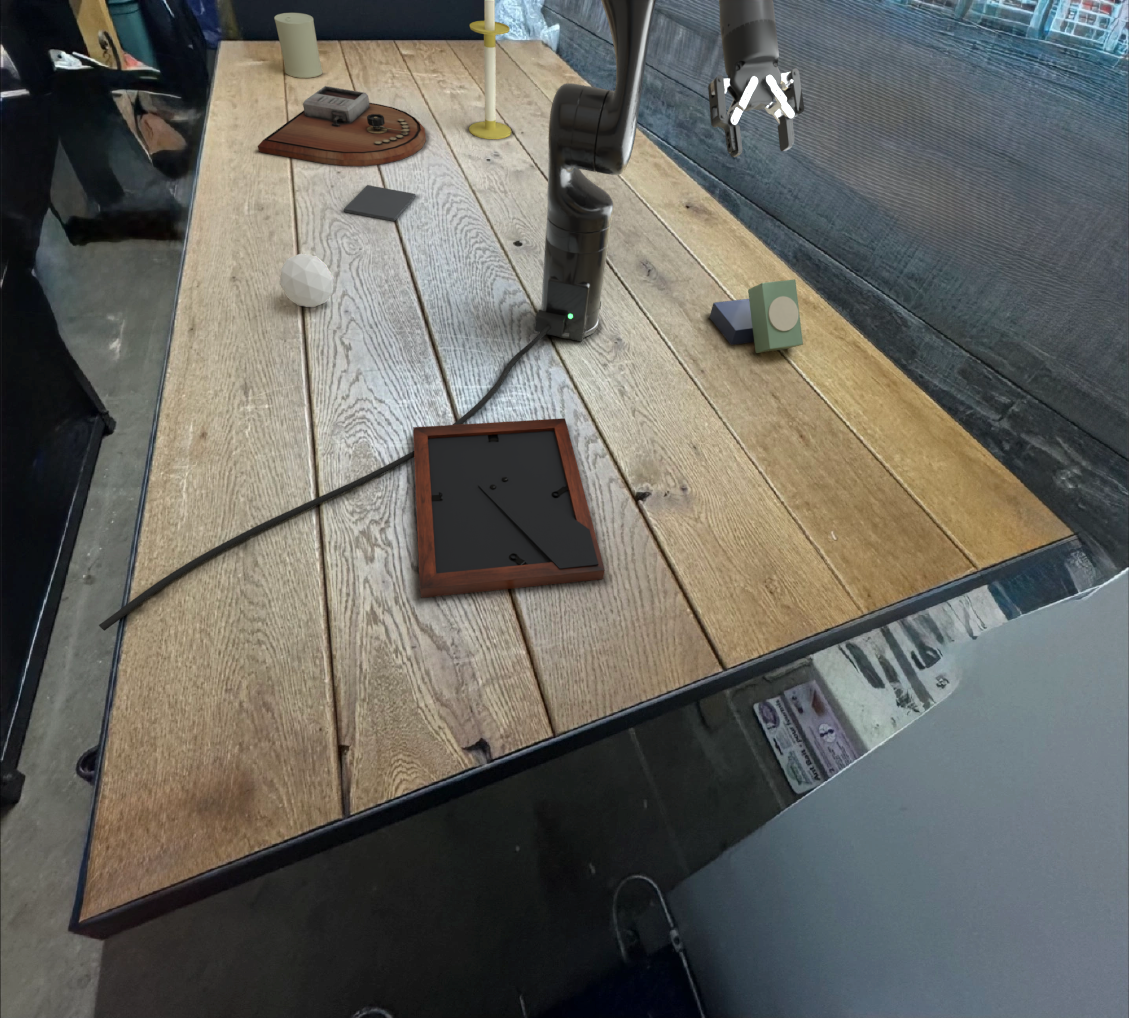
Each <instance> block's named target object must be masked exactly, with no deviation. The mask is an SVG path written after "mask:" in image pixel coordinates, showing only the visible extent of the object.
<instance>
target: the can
mask: <svg viewBox="0 0 1129 1018" xmlns="http://www.w3.org/2000/svg"><path fill="white" fill-rule="evenodd" d="M274 22H275V27H276V31H277V35H278V40H279V44H280V50H281V53H282V59H283V64H284V72H285V74H286V75H288V76H290V77H294V78H298V79H309V78H310V79H311V78H317V77H319V76H321V75H323V72H324V71H323V68H322V64H321V63H322V62H321V56H320V52H319V45H318V41H317V34H316V29H315V23H314V17H313V16H311V15H310V14H306V13H302V12H283V13H278V14H276V15H275V16H274Z"/></svg>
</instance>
